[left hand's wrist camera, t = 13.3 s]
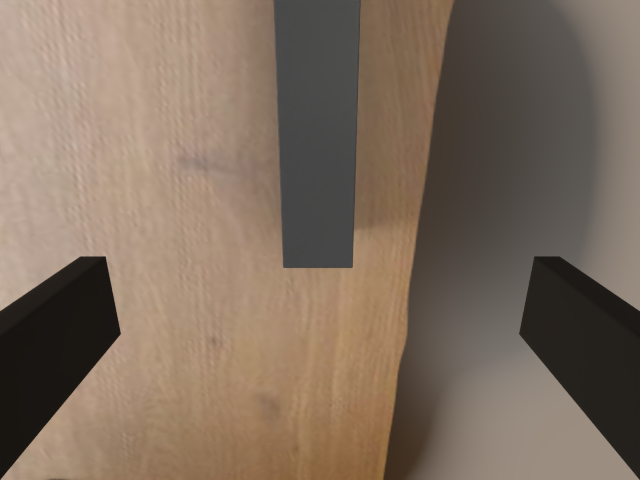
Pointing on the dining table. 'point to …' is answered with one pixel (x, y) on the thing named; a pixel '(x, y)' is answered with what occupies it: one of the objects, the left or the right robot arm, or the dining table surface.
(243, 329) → the dining table surface
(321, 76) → the plank
